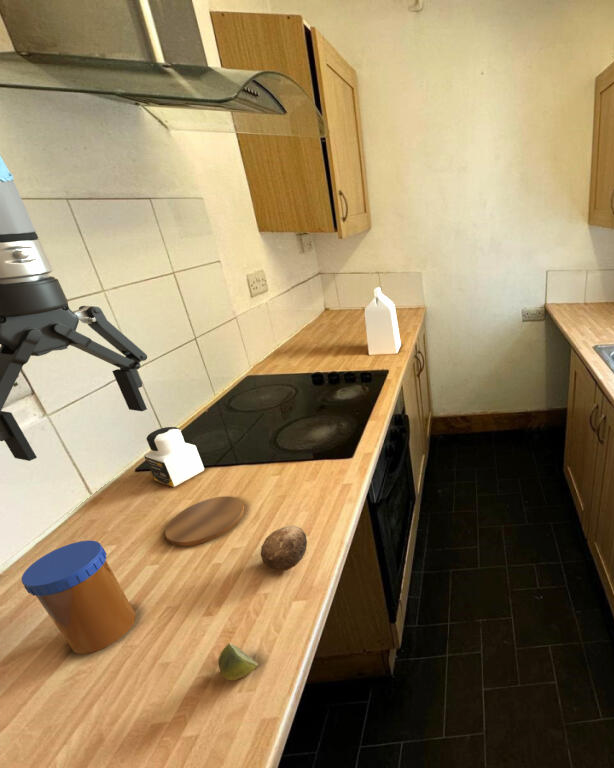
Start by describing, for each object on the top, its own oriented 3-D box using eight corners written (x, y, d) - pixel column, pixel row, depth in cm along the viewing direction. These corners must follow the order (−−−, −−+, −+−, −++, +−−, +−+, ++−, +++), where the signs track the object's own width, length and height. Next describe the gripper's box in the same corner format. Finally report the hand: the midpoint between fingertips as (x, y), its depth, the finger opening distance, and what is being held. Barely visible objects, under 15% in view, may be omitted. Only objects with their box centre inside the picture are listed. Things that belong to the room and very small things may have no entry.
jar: (57, 652, 60) (10, 584, 54) (106, 607, 66) (68, 543, 61) (103, 656, 59) (60, 588, 54) (148, 610, 66) (113, 545, 60)
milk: (374, 345, 183) (365, 286, 173) (400, 344, 185) (393, 285, 174) (368, 354, 173) (359, 292, 162) (397, 353, 174) (389, 291, 163)
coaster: (149, 544, 78) (147, 540, 78) (201, 498, 90) (200, 495, 90) (213, 548, 77) (211, 544, 77) (258, 501, 89) (257, 497, 89)
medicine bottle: (154, 480, 96) (134, 436, 91) (186, 463, 102) (169, 421, 97) (174, 487, 94) (154, 442, 89) (205, 470, 100) (189, 426, 95)
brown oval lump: (306, 519, 79) (286, 512, 74) (325, 552, 76) (305, 547, 70) (269, 548, 78) (246, 544, 72) (287, 584, 74) (264, 581, 69)
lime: (234, 656, 59) (223, 632, 57) (268, 654, 59) (259, 630, 57) (215, 690, 55) (203, 666, 53) (252, 687, 55) (242, 663, 53)
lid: (10, 594, 54) (2, 584, 54) (72, 548, 62) (67, 538, 61) (64, 598, 54) (58, 588, 53) (121, 551, 61) (116, 541, 60)
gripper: (-139, 304, 38) (-16, 490, 47) (142, 264, 60) (191, 396, 69) (-186, 300, 40) (-59, 480, 49) (104, 263, 62) (156, 391, 71)
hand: (87, 431), depth 59 cm, fingers open, 13 cm apart
